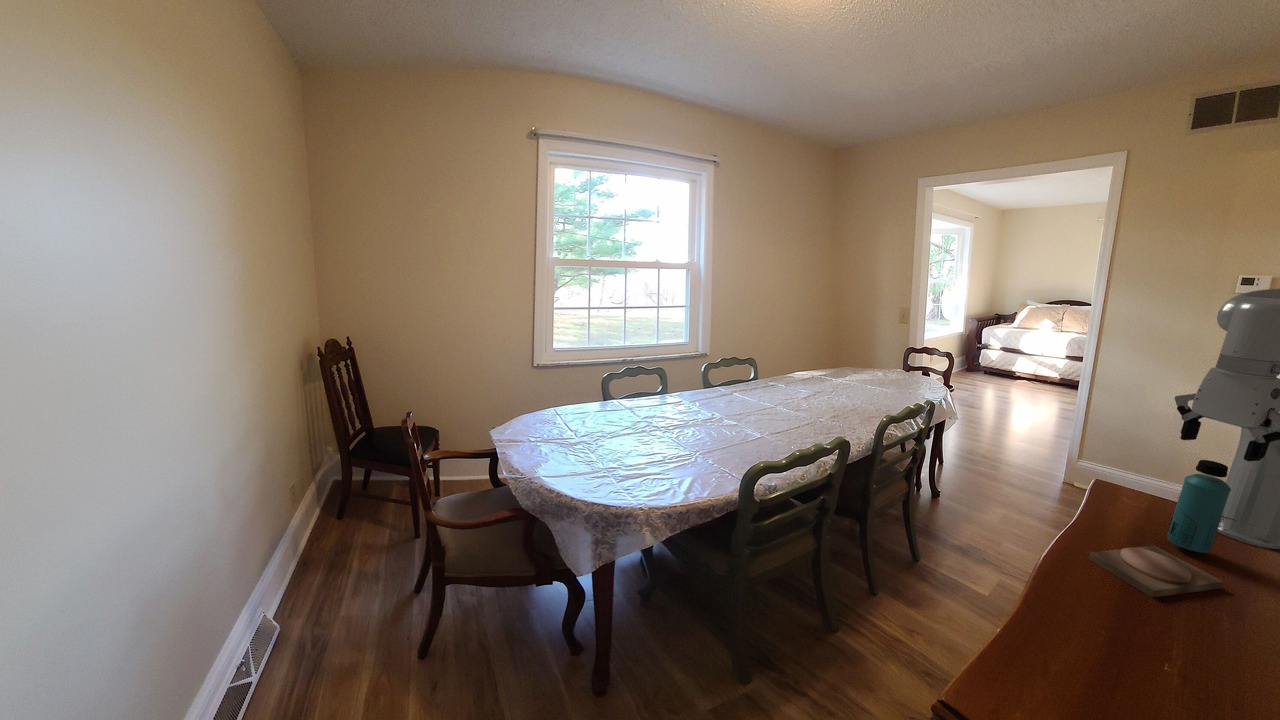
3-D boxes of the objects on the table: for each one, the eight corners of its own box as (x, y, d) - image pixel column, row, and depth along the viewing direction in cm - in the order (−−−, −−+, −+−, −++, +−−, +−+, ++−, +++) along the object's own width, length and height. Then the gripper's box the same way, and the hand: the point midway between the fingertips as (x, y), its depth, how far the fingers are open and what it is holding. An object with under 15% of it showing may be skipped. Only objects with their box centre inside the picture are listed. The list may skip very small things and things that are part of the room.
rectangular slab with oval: (1151, 551, 101) (1154, 542, 100) (1220, 588, 90) (1224, 577, 90) (1088, 558, 98) (1090, 549, 98) (1151, 597, 88) (1155, 586, 87)
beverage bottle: (1218, 561, 98) (1251, 472, 93) (1179, 557, 99) (1209, 468, 94) (1190, 542, 104) (1219, 457, 99) (1154, 538, 105) (1180, 454, 100)
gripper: (1331, 378, 84) (1296, 468, 88) (1204, 355, 101) (1179, 431, 105) (1298, 379, 83) (1264, 470, 87) (1175, 355, 99) (1151, 433, 104)
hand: (1218, 449), depth 96 cm, fingers open, 9 cm apart
